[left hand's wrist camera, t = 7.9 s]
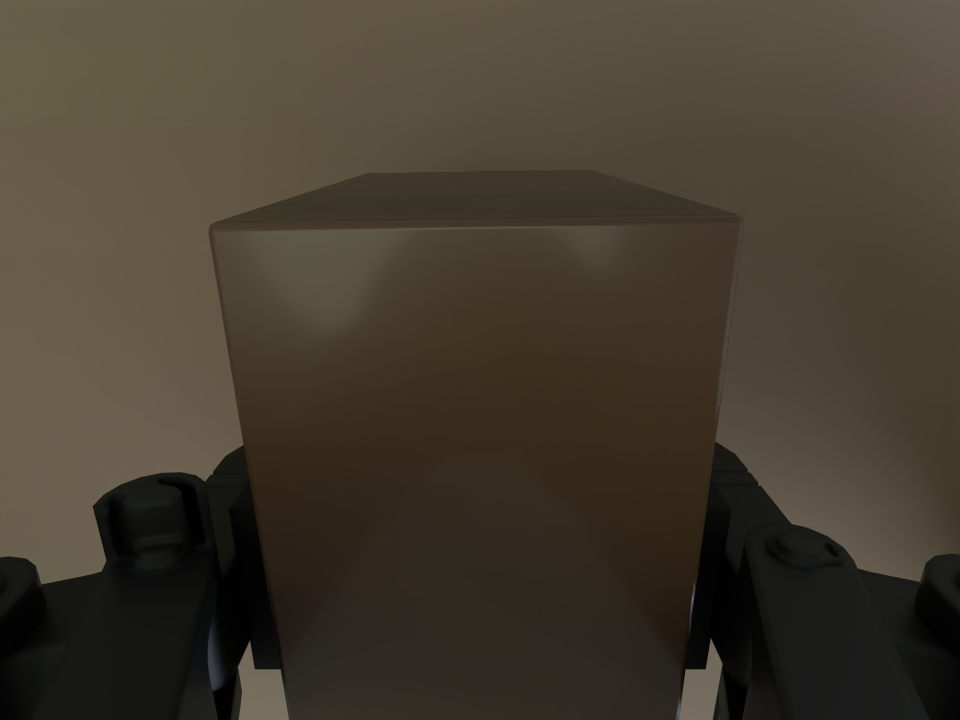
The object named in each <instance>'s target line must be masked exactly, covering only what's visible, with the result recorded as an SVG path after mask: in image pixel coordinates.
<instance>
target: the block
mask: <svg viewBox="0 0 960 720" xmlns="http://www.w3.org/2000/svg"><path fill="white" fill-rule="evenodd" d="M743 226H744V223H743V219H742V217H741V216H739V215H736V214H734V213H730V212H727V211H724V210H721V209H717V208H714V207H711V206H707V205H704V204H701V203H698V202H694V201H691V200H688V199H684V198H681V197H678V196H675V195H671V194H668V193H665V192H661V191H658V190H655V189H652V188H648V187H645V186H642V185H638V184H635V183H632V182H629V181H625V180H622V179H619V178H615V177H612V176H609V175H606V174H602V173H599V172H596V171H592V170H551V171H486V172H421V173H367V174H363V175H360V176H357V177H354V178H351V179H348V180H345V181H342V182H339V183H336V184H332V185H329V186H326V187H323V188H320V189H317V190H314V191H311V192H308V193H304V194H301V195H298V196H295V197H292V198H289V199H286V200H283V201H280V202H276V203H273V204H270V205H267V206H264V207H261V208H258V209H255V210H252V211H248V212H245V213H242V214H239V215H236V216H233V217H230V218H227V219H224V220H221V221H217V222H215V223H213V224H211V225H210V227H209V237H210V244H211V250H212V256H213V262H214V268H215V274H216V280H217V286H218V292H219V298H220V304H221V310H222V316H223V322H224V328H225V334H226V340H227V347H228V353H229V359H230V365H231V371H232V377H233V383H234V389H235V395H236V401H237V407H238V413H239V419H240V425H241V431H242V437H243V443H244V449H245V456H246V462H247V468H248V474H249V480H250V486H251V492H252V498H253V504H254V510H255V516H256V522H257V528H258V534H259V540H260V546H261V552H262V558H263V565H264V571H265V577H266V583H267V589H268V595H269V601H270V607H271V613H272V619H273V625H274V631H275V637H276V643H277V649H278V655H279V661H280V667H281V674H282V680H283V686H284V692H285V698H286V704H287V710H288V716H289V720H679V715H680V707H681V699H682V692H683V684H684V676H685V669H686V661H687V654H688V646H689V638H690V631H691V623H692V615H693V608H694V600H695V592H696V585H697V577H698V570H699V562H700V554H701V547H702V539H703V531H704V524H705V516H706V509H707V501H708V493H709V486H710V478H711V470H712V463H713V455H714V447H715V440H716V432H717V425H718V417H719V409H720V402H721V394H722V386H723V379H724V371H725V364H726V356H727V348H728V341H729V333H730V325H731V318H732V310H733V302H734V295H735V287H736V280H737V272H738V264H739V257H740V249H741V241H742V234H743Z"/></svg>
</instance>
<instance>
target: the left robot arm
mask: <svg viewBox="0 0 960 720" xmlns="http://www.w3.org/2000/svg"><path fill="white" fill-rule="evenodd" d="M93 509H94V513H95V517H96V521H97V525H98V529H99V533H100V537H101V541H102V545H103V549H104V553H105V556H106V560H107V561H106V563H105V565H104V567H103V570H102V572H99V573H95V574H91V575H87V576H82V577H77V578H72V579H67V580H62V581H57V582H52V583H47V584H42V585H41V582H40V579H39V575H38V572H37V569H36V566H35V565H34V564H33V563H31V562H30V561H29V560H27V559H25V558H17V557H10V556H9V557H1V558H0V720H239V713H240V705H241V696H242V689H241V682H240V676H239V670H238V665H239V663H240V661H241V659H242V656H243V654H244V652H245V650H246V648H247V646H248V643H249V641H250V643H251V649H252V655H253V661H254V667H255V669H281V667H280V661H279V655H278V649H277V643H276V637H275V631H274V625H273V619H272V613H271V607H270V601H269V595H268V589H267V583H266V577H265V571H264V565H263V558H262V552H261V546H260V540H259V534H258V528H257V522H256V516H255V510H254V504H253V498H252V492H251V486H250V480H249V474H248V468H247V462H246V456H245V449H244V445H243V446H241V447H239V448H238V449H236V450H235V451H233V452H231V453H230V454H228V455H226V456H225V458H224V459H223V460H222V461H221V463H220V464H219V465H218V466H217V468H216V469H215V470H214V471H213V475H210V476H209V478H208V479H207V480H206V481H205V482H204V481H203V480H202V479H200V478H199V477H198V476H196V475H192V474H187V473H182V472H176V473H159V474H154V475H149V476H144V477H140V478H137V479H135V480H132V481H129V482H127V483H124V484H121V485H119V486H118V487H116V488H114V489H113V490H111V491H109V492H108V493H106V494H104V495H103V496H102V497H101V498H100V499H99V500H98V501H97V502H96V503H95V504H94V505H93ZM710 639H712V641H713V644H714V646H715V648H716V650H717V652H718V654H719V657H720V659H721V661H722V663H723V665H722V670H721V676H720V682H719V687H718V693H717V699H716V704H715V710H714V716H713V720H960V555H958V554H946V555H939V556H934V557H933V558H932V559H930V560H929V561H928V562H926V564H925V567H924V571H923V574H922V577H921V581H920V582H917V581H912V580H907V579H902V578H897V577H892V576H887V575H882V574H877V573H872V572H868V571H865V570H861V569H858V568H857V566H856V564H855V562H854V560H853V559H852V558H851V556H850V555H849V554H848V553H847V551H846V550H845V549H844V548H843V547H842V546H841V545H839V544H838V543H836V542H835V541H833V540H832V539H831V538H829V537H828V536H825V535H823V534H821V533H818V532H816V531H814V530H811V529H809V528H806V527H802V526H797V525H793V524H791V523H790V522H789V520H788V519H787V518H786V517H785V515H784V514H783V513H782V512H781V510H780V509H779V508H778V507H777V505H776V504H775V503H774V502H773V500H772V499H771V498H770V497H769V496H768V494H767V493H766V492H765V491H764V489H763V488H762V487H761V486H758V482H757V481H756V479H755V478H754V477H753V476H752V474H751V473H748V469H747V468H746V467H745V466H744V464H743V463H742V462H741V461H740V459H739V458H738V457H737V456H736V454H734V453H733V452H731V451H730V450H728V449H726V448H725V447H723V446H721V445H720V444H718V443H717V442H715V447H714V455H713V463H712V470H711V478H710V486H709V493H708V501H707V509H706V516H705V524H704V531H703V539H702V547H701V554H700V562H699V570H698V577H697V585H696V592H695V600H694V608H693V615H692V623H691V631H690V638H689V646H688V654H687V661H686V669H706V664H707V658H708V652H709V646H710Z"/></svg>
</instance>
